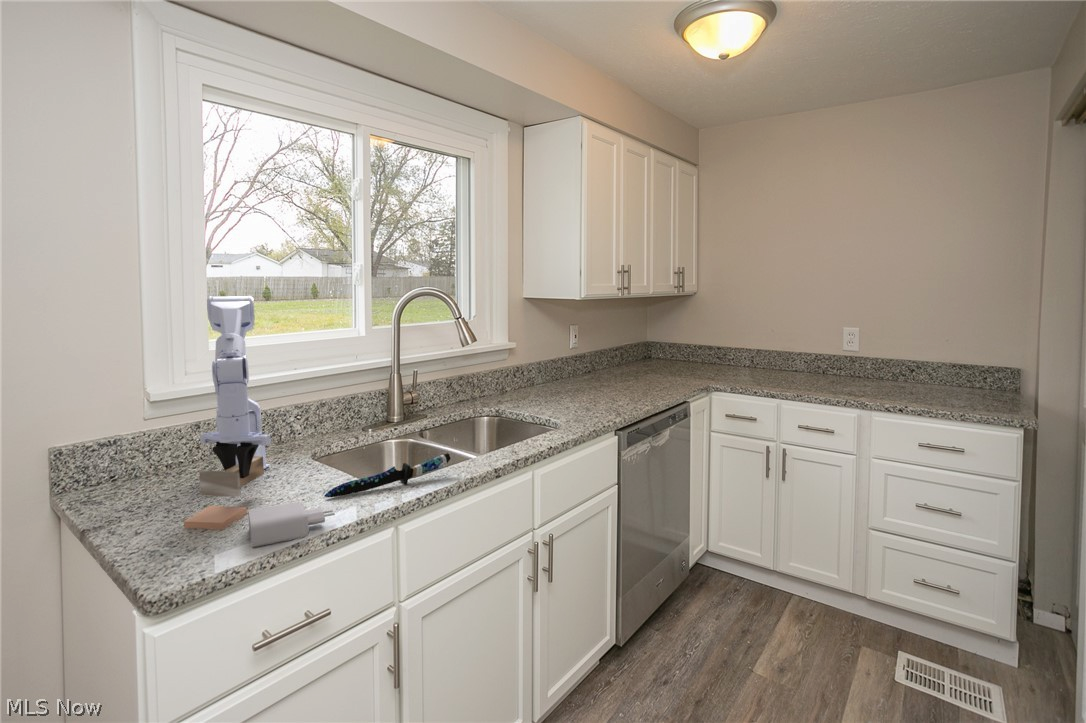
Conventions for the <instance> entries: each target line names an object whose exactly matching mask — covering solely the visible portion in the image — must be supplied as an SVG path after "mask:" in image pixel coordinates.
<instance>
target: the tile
mask: <svg viewBox="0 0 1086 723" xmlns="http://www.w3.org/2000/svg"><path fill="white" fill-rule="evenodd" d="M245 515H248V508H247V506H232V505H231V506H226V505H209V506H207V507H206V508H204V509H202V510H200V511H198V512H197V513H195V514H193V515H192V516H190V517H188V518H187V519H185V520H183V529H198V530H199V529H203V530H225V529H226V528H228V527H229V526H230V525H232V524H234V523H235V522H237V521H238V520H239V519H241V518H242V517H244V516H245Z"/></svg>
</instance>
